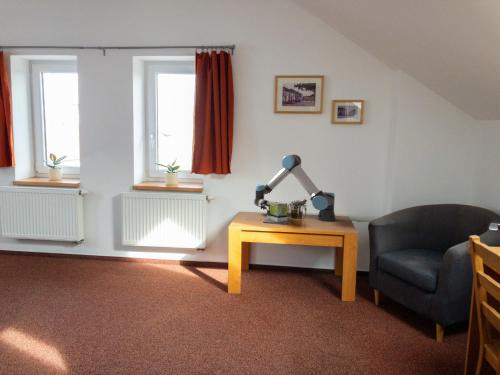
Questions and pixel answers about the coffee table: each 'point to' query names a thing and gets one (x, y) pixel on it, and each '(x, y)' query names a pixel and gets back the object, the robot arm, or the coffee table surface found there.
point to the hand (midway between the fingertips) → (276, 208)
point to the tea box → (277, 211)
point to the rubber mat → (275, 221)
